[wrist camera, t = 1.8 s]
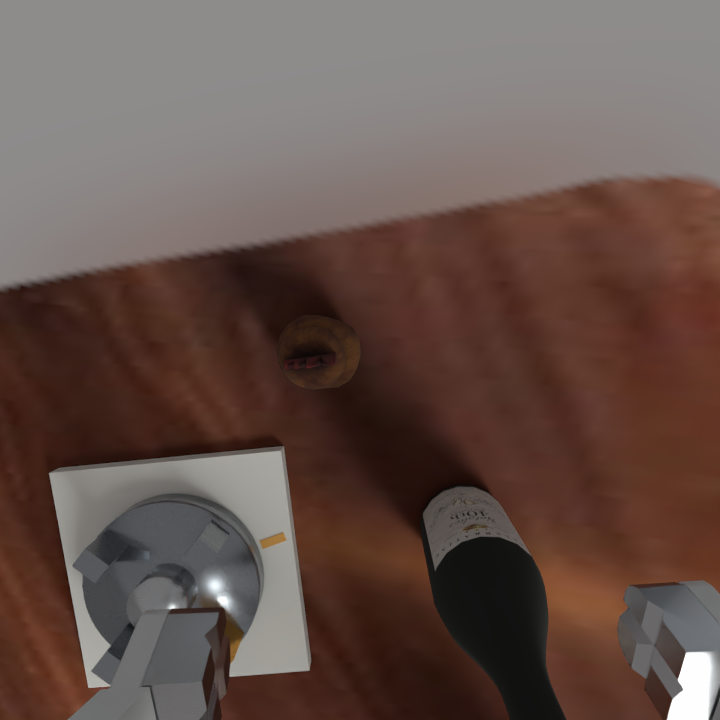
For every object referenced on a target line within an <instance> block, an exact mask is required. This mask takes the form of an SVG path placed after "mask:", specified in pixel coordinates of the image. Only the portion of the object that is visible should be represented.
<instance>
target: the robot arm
mask: <svg viewBox="0 0 720 720" xmlns="http://www.w3.org/2000/svg"><path fill="white" fill-rule="evenodd" d="M623 600H624V602H625V603H626V605H627V606H628V607H629V608H628V609H627V610H626V611H625V612H624V613H623V614H622V615H621V616H620V617H619V623H618V628H617V631H618V637H619V643H620V646H621V649H622V651H623V654H624V656H625V658H626V660H627V661H628V663H629V665H630V667H631V668H632V669H634V670H635V671H636V672H638V673H639V674H640V675H642V676H643V677H645V678H646V679H645V689H644V690H645V691H646V693H647V695H648V696H649V698H650V700H651V701H652V703H653V704H654V706H655V708H656V709H657V711H658V713H659V714H660V716H661V718H662V719H663V720H720V594H719V593H718V592H717V591H716V590H715V589H714V588H713V586H711V585H710V584H709V583H707V582H705V581H687V582H678V583H676V582H669V583H654V584H638V585H630V586H629V587H628V588H627V589H626V591H625V595H624V599H623ZM226 623H227V620H226V614H225V609H224V608H222V607H213V608H176V609H157V610H145V611H144V612H143V614H142V615H141V616H140V617H139V619H138V622H137V624H136V626H135V629H134V631H133V634H132V636H131V638H130V641H129V643H128V645H127V648H126V650H125V652H124V655H123V657H122V659H121V662H120V664H119V666H118V669H117V671H116V674H115V676H114V678H113V681H112V683H111V685H110V688H109V689H103V690H100V691H99V692H98V693H96V694H95V695H94V696H93V697H92V698H91V699H90V700H89V701H88V702H86V703H85V704H84V705H83V706H82V707H81V708H80V709H79V710H78V711H77V712H75V713H74V714H73V715H72V716H71V717H70V718H69V719H68V720H221V718H222V715H221V708H220V699H221V698H222V697H223V696H224V695H225V694H226V692H227V687H228V681H229V673H230V662H231V656H230V641H229V638H228V637H227V636H226V635H225V634H224V632H225V627H226Z"/></svg>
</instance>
